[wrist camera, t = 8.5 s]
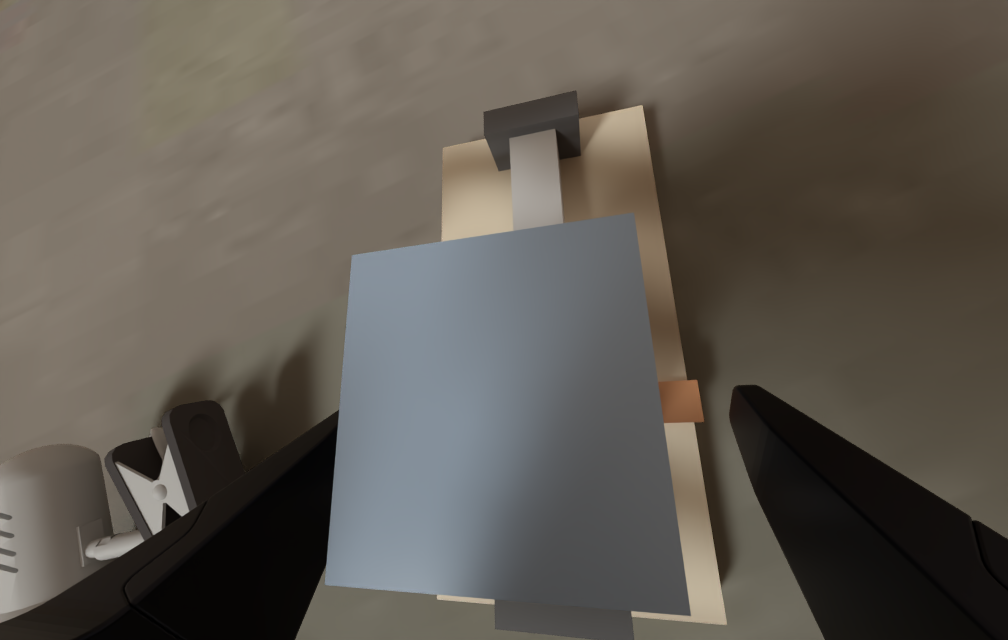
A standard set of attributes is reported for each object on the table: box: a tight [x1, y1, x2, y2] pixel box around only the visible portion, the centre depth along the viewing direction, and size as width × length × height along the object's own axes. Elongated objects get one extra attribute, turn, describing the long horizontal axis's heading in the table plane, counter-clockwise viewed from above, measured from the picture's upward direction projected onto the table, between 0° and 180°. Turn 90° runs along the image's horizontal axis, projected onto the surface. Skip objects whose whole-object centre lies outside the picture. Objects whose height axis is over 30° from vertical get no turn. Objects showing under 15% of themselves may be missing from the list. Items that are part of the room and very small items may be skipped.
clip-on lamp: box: [0, 400, 245, 623], centre depth 15 cm, size 12×6×18 cm
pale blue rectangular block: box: [325, 213, 691, 616], centre depth 9 cm, size 5×5×9 cm
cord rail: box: [437, 91, 727, 640], centre depth 15 cm, size 20×11×4 cm, turn 2°
